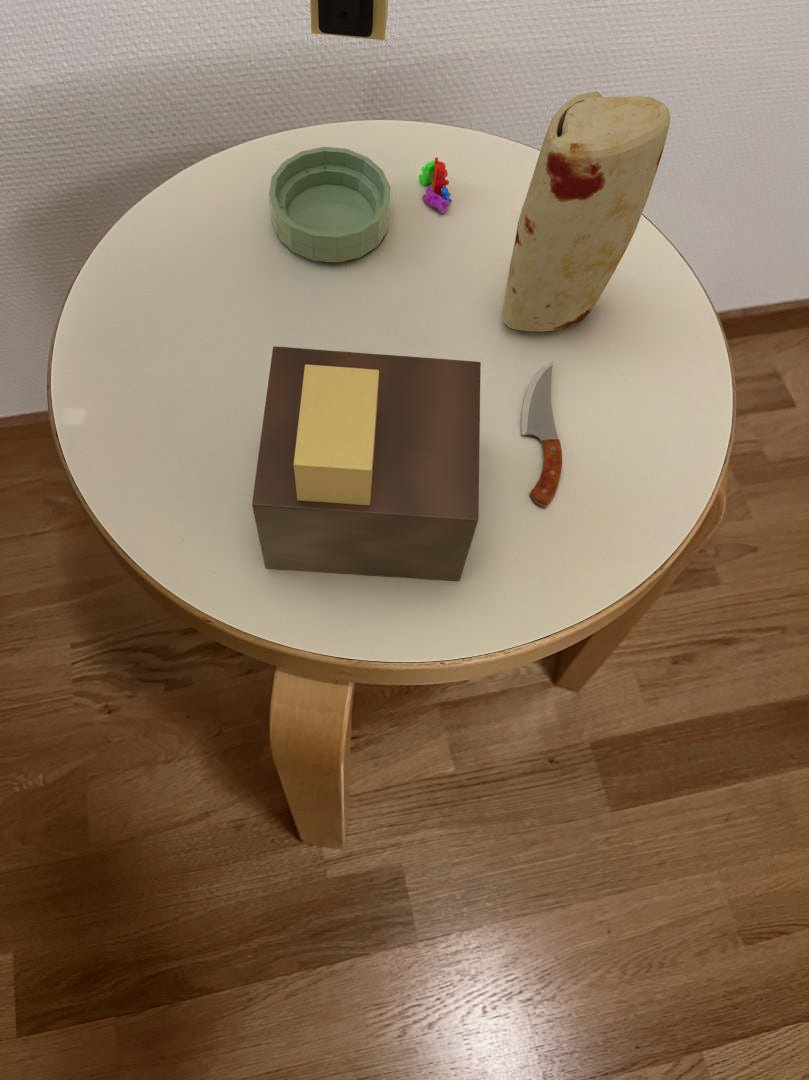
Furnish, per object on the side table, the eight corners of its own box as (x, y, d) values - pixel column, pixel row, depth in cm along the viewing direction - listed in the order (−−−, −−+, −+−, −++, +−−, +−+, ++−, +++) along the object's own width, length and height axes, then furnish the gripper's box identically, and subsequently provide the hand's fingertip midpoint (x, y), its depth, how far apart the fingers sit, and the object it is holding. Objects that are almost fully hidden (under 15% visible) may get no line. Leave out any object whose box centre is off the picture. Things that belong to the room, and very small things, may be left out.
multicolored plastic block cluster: (453, 216, 79) (458, 185, 76) (423, 217, 79) (426, 186, 76) (447, 174, 81) (451, 142, 78) (417, 175, 81) (420, 143, 78)
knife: (519, 357, 72) (556, 358, 73) (518, 361, 73) (555, 363, 73) (525, 503, 67) (565, 505, 67) (523, 507, 67) (563, 508, 67)
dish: (266, 261, 76) (263, 231, 73) (279, 174, 80) (276, 142, 77) (384, 270, 76) (386, 241, 73) (391, 183, 80) (393, 152, 77)
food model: (516, 360, 73) (572, 163, 55) (479, 299, 76) (521, 92, 57) (619, 324, 75) (705, 123, 57) (580, 266, 78) (651, 56, 60)
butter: (297, 500, 55) (293, 464, 51) (307, 405, 58) (305, 363, 54) (370, 505, 56) (372, 470, 52) (377, 410, 59) (379, 369, 54)
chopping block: (264, 568, 64) (251, 504, 55) (282, 425, 69) (272, 345, 60) (459, 581, 65) (478, 520, 56) (463, 438, 70) (480, 361, 61)
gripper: (426, -290, 35) (401, 113, 52) (444, -469, 42) (417, -62, 58) (232, -310, 35) (270, 101, 51) (282, -487, 41) (301, -73, 58)
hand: (348, 12), depth 55 cm, fingers closed on butter slice, 2 cm apart
